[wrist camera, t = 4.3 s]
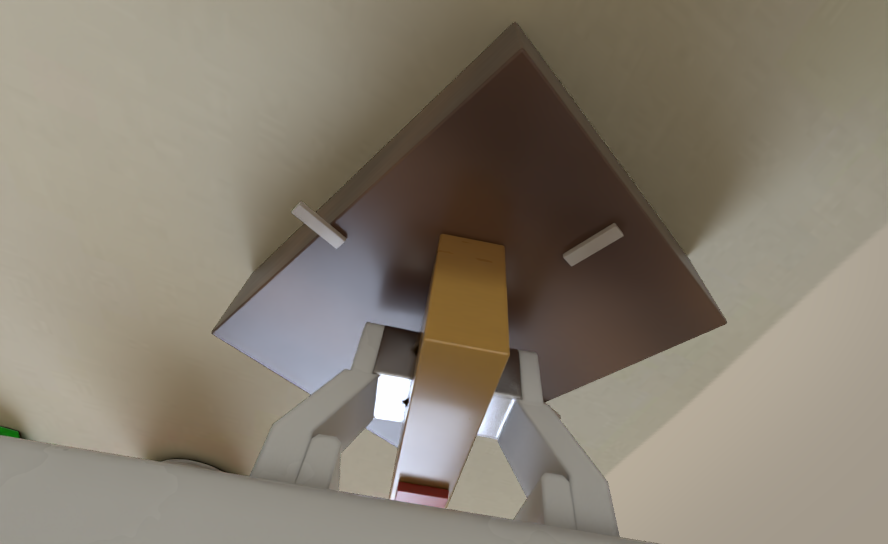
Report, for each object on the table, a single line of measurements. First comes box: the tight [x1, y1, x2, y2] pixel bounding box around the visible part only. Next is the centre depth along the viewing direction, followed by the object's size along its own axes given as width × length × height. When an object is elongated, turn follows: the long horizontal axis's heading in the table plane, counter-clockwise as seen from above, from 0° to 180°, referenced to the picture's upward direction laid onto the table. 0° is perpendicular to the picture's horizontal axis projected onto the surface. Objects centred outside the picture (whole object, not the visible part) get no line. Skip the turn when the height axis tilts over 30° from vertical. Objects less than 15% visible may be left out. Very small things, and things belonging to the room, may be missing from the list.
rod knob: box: [389, 234, 510, 509], centre depth 11 cm, size 6×2×4 cm, turn 170°
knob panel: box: [212, 22, 727, 448], centre depth 14 cm, size 12×11×3 cm
